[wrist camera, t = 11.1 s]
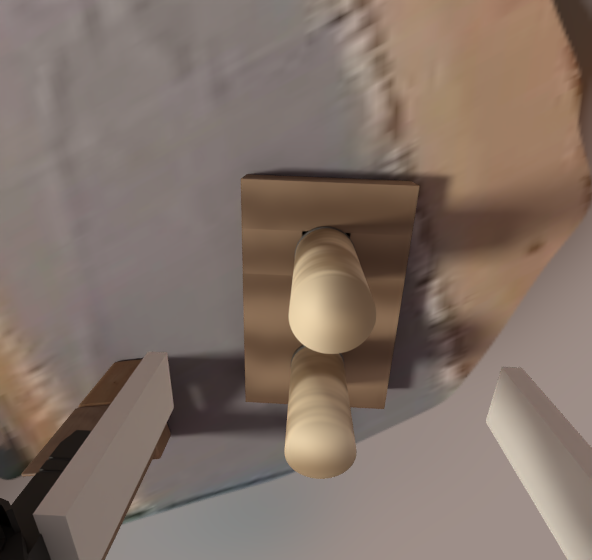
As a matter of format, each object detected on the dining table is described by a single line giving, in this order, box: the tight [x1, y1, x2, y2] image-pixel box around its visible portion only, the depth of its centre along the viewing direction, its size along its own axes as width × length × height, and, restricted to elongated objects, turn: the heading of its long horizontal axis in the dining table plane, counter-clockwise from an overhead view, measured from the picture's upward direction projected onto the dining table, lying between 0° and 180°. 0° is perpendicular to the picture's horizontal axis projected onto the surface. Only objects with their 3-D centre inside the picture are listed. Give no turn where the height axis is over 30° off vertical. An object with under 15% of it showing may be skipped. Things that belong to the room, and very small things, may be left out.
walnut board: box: [241, 174, 420, 479], centre depth 30 cm, size 22×14×14 cm, turn 178°
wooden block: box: [22, 359, 171, 560], centre depth 33 cm, size 4×11×18 cm, turn 8°
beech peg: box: [289, 226, 376, 354], centre depth 27 cm, size 5×5×14 cm
